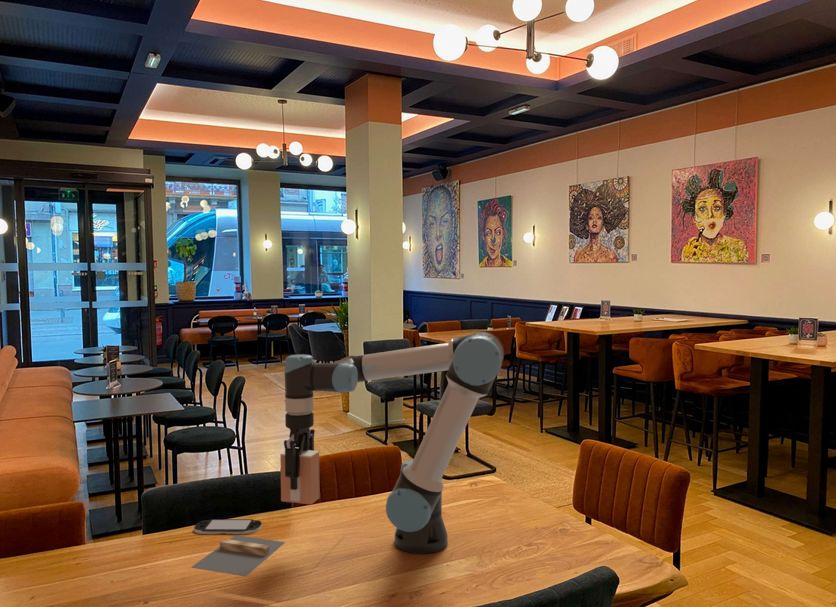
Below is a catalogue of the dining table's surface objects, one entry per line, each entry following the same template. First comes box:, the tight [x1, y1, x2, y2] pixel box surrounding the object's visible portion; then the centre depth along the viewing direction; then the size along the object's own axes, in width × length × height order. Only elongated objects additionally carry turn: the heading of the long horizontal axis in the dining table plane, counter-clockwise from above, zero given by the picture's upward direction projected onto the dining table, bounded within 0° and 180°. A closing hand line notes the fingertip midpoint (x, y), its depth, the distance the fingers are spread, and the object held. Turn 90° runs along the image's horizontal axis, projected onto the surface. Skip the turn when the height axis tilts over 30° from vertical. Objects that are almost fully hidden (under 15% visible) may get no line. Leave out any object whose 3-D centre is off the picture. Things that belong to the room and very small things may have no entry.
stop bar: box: [219, 538, 269, 556], centre depth 163 cm, size 14×2×2 cm, turn 74°
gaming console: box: [193, 518, 263, 535], centre depth 178 cm, size 19×9×3 cm, turn 90°
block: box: [279, 450, 321, 505], centre depth 163 cm, size 9×5×13 cm, turn 74°
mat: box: [191, 534, 286, 577], centre depth 161 cm, size 16×20×1 cm
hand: (300, 496), depth 163 cm, fingers closed on block, 5 cm apart
